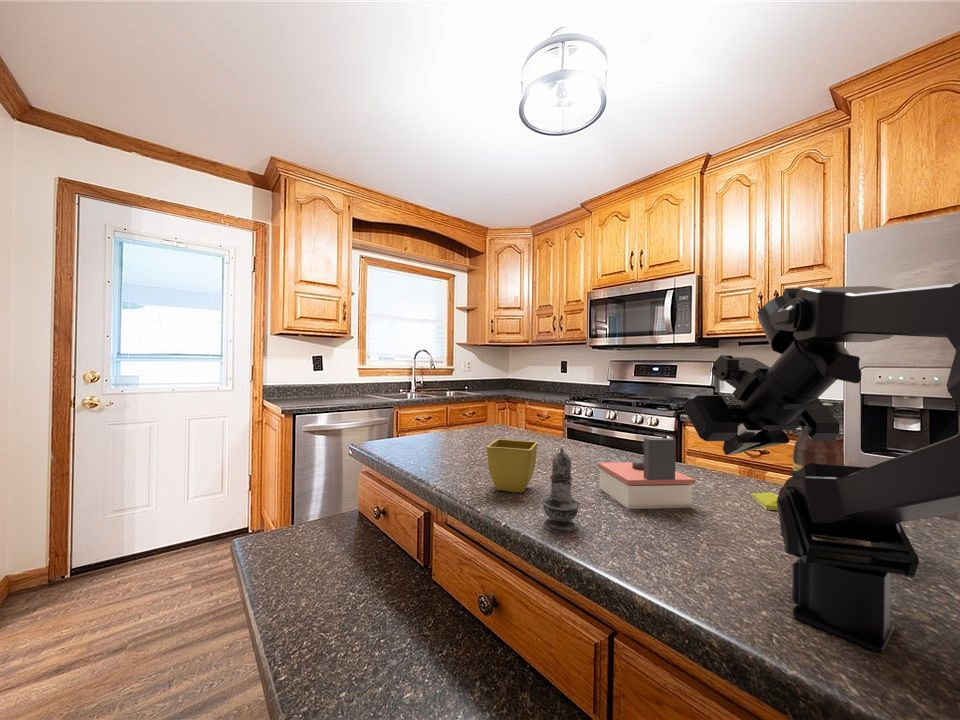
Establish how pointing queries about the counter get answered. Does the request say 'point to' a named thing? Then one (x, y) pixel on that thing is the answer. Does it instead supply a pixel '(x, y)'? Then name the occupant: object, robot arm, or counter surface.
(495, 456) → the flower pot
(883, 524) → the robot arm
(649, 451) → the lid
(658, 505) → the white rectangular box
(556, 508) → the salt shaker
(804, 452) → the sauce bottle
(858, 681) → the counter surface
